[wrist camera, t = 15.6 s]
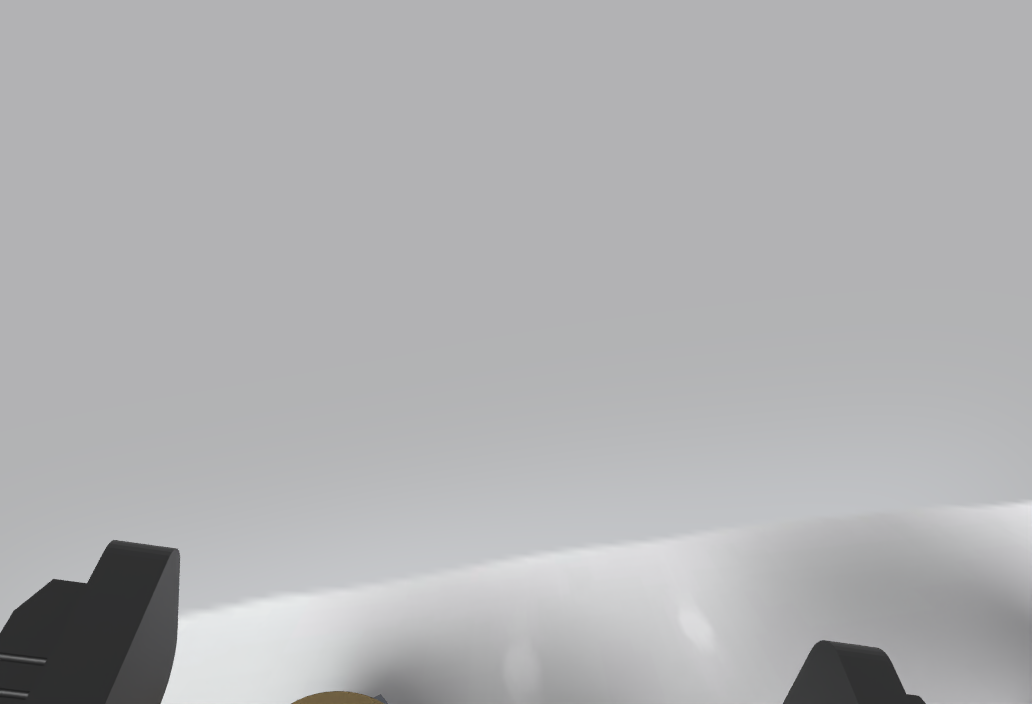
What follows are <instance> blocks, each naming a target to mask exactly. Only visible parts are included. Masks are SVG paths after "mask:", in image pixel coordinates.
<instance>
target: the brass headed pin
mask: <svg viewBox="0 0 1032 704" xmlns="http://www.w3.org/2000/svg"><path fill="white" fill-rule="evenodd" d="M292 704H384V703H382V702H380V701H379V700H377V699H374V698H372V697H369V696H366V695H362V694H358V693H353V692H344V691H333V692H323V693H318V694H314V695H310V696H307V697H304V698H302V699H299V700H297V701H295V702H293V703H292Z"/></svg>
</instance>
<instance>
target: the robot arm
mask: <svg viewBox="0 0 1032 704" xmlns="http://www.w3.org/2000/svg"><path fill="white" fill-rule="evenodd" d="M179 573H180V553H179V550H178V549H176V548H168V547H161V546H153V545H146V544H139V543H132V542H125V541H118V540H113V541H111V542H110V543H109V545H108V546H107V547H106V549H105V551H104V553H103V554H102V557H101V558H100V560H99V562H98V564H97V566H96V567H95V569H94V571H93V573H92V575H91V577H90V579H89V581H88V583H79V582H71V581H64V580H57V579H53V580H52V581H51V582H49V583H48V584H47V585H46V586H44V587H43V588H42V589H41V590H39V591H38V592H37V593H36V594H34V595H33V596H32V597H31V598H29V599H28V600H27V601H25V602H24V603H23V604H22V605H21V606H19V607H18V608H17V609H15V610H14V611H13V613H12V615H11V616H10V618H9V620H8V622H7V623H6V625H5V626H4V628H3V630H2V631H1V633H0V704H161V701H162V698H163V696H164V693H165V690H166V687H167V684H168V681H169V677H170V673H171V669H172V665H173V661H174V656H175V650H176V643H177V629H178V600H179ZM783 704H926V703H925V702H924V701H923V700H922V699H921V698H920V697H919V696H916V695H908V694H906V692H905V690H904V688H903V686H902V684H901V682H900V680H899V677H898V675H897V673H896V671H895V669H894V667H893V665H892V663H891V661H890V659H889V657H888V656H887V654H886V653H885V652H884V651H883V650H881V649H879V648H875V647H868V646H861V645H854V644H847V643H839V642H832V641H825V640H822V641H819V642H818V643H816V644H815V645H814V647H813V648H812V650H811V651H810V653H809V655H808V657H807V659H806V661H805V663H804V665H803V667H802V669H801V670H800V672H799V674H798V676H797V678H796V680H795V682H794V684H793V686H792V687H791V689H790V691H789V693H788V695H787V697H786V699H785V701H784V703H783Z"/></svg>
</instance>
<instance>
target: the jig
mask: <svg viewBox="0 0 1032 704" xmlns="http://www.w3.org/2000/svg"><path fill="white" fill-rule="evenodd" d="M374 699H377V700H379V701H380V702H382V703H384V704H388V703H387V702H386V701H385V699H384V698H383V697H382V696H381V694H380V695H379V696H377V697H375V698H374Z"/></svg>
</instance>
